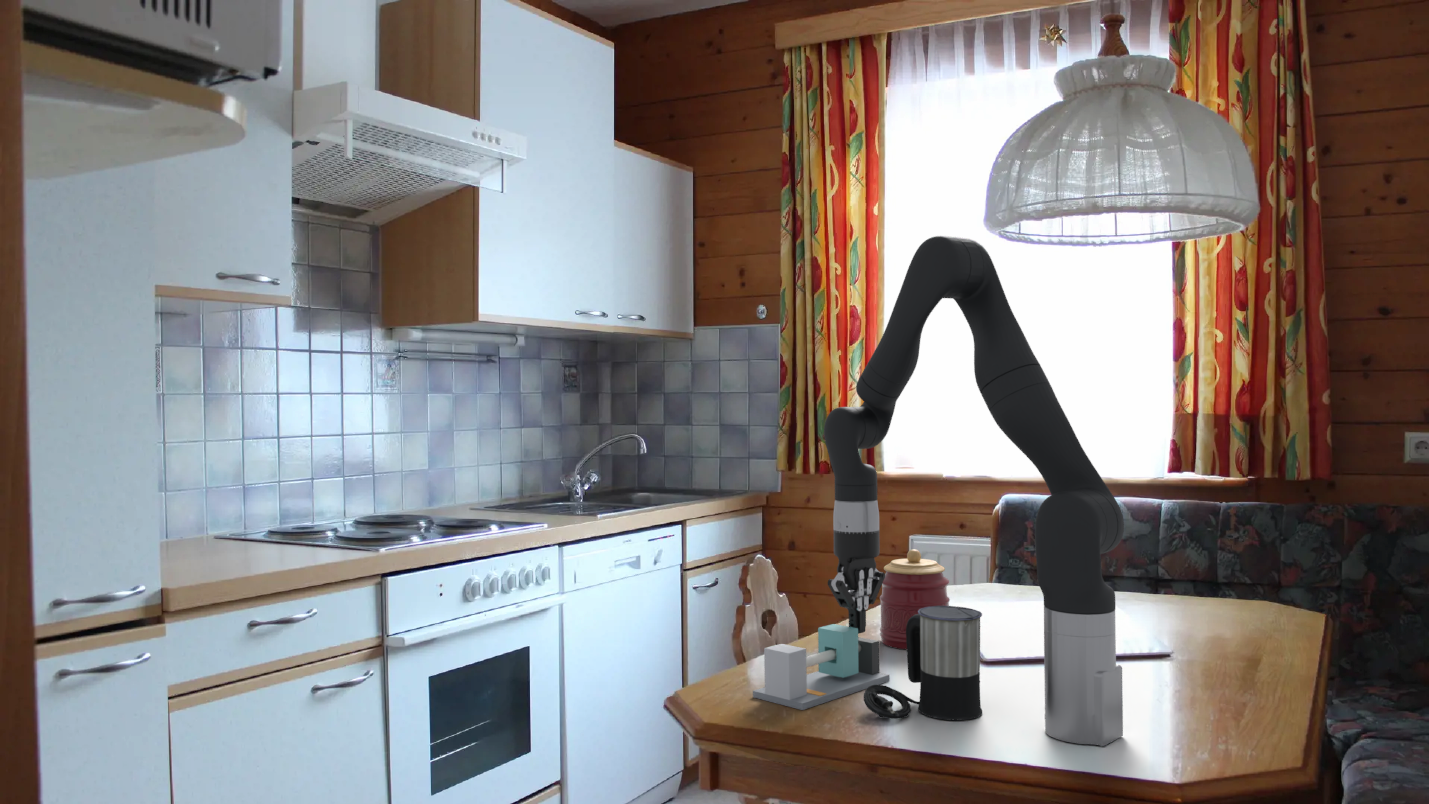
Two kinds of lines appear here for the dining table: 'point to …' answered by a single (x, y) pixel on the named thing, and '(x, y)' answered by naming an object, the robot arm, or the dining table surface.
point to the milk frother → (938, 666)
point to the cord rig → (815, 675)
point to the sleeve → (839, 649)
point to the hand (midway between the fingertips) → (857, 632)
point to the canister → (909, 594)
